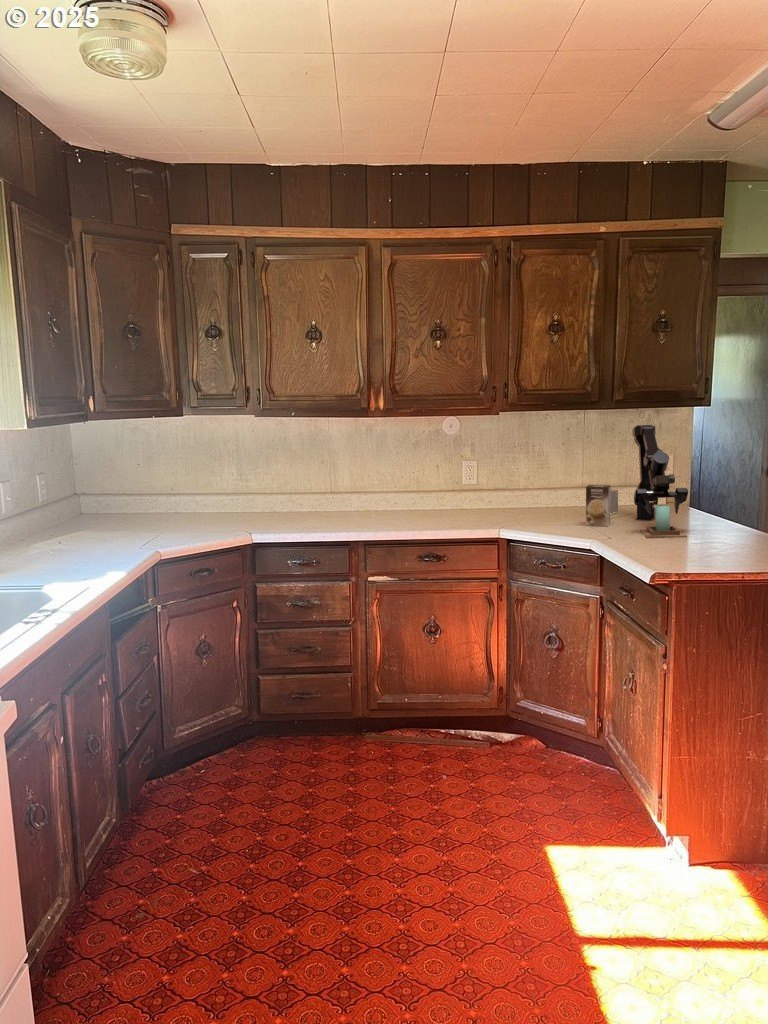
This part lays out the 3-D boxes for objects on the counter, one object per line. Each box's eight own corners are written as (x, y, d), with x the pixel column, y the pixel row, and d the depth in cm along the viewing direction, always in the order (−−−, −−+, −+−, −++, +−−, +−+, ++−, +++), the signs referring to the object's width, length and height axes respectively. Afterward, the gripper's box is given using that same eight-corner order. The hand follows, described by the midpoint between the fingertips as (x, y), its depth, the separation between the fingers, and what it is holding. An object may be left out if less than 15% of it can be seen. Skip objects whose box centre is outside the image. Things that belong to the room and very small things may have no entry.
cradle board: (639, 531, 293) (639, 525, 293) (678, 530, 291) (678, 525, 291) (646, 538, 280) (646, 532, 279) (687, 537, 278) (687, 531, 277)
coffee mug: (611, 514, 334) (611, 491, 332) (590, 512, 341) (590, 490, 339) (625, 510, 343) (625, 488, 342) (605, 508, 350) (605, 487, 349)
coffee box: (585, 526, 310) (584, 486, 307) (587, 523, 315) (587, 484, 313) (608, 526, 306) (608, 486, 303) (611, 524, 311) (610, 484, 309)
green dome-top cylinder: (652, 532, 286) (652, 506, 285) (661, 530, 289) (661, 504, 287) (664, 534, 282) (664, 507, 280) (672, 532, 285) (672, 505, 283)
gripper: (635, 467, 287) (640, 501, 278) (687, 466, 284) (694, 499, 275) (631, 485, 296) (636, 518, 287) (682, 484, 293) (688, 517, 284)
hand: (663, 513), depth 283 cm, fingers open, 9 cm apart
